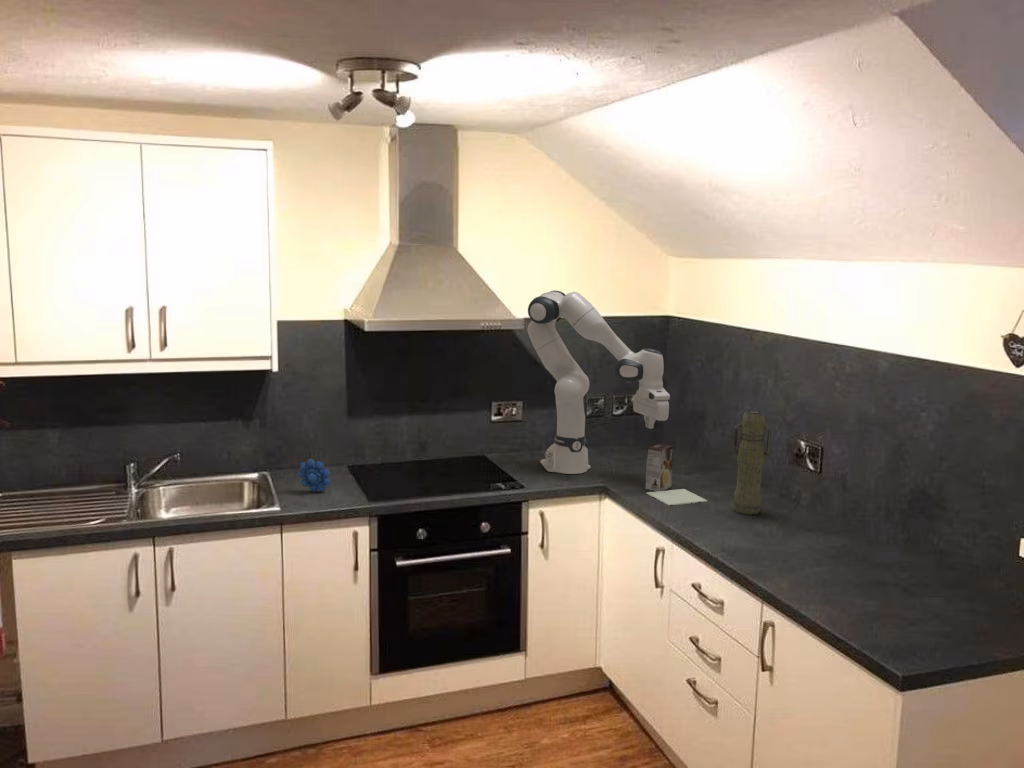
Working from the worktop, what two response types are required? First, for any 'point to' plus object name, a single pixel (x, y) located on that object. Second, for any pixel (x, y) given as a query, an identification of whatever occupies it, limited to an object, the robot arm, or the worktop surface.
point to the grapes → (314, 475)
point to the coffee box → (659, 467)
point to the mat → (676, 497)
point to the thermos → (750, 461)
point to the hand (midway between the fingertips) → (649, 427)
